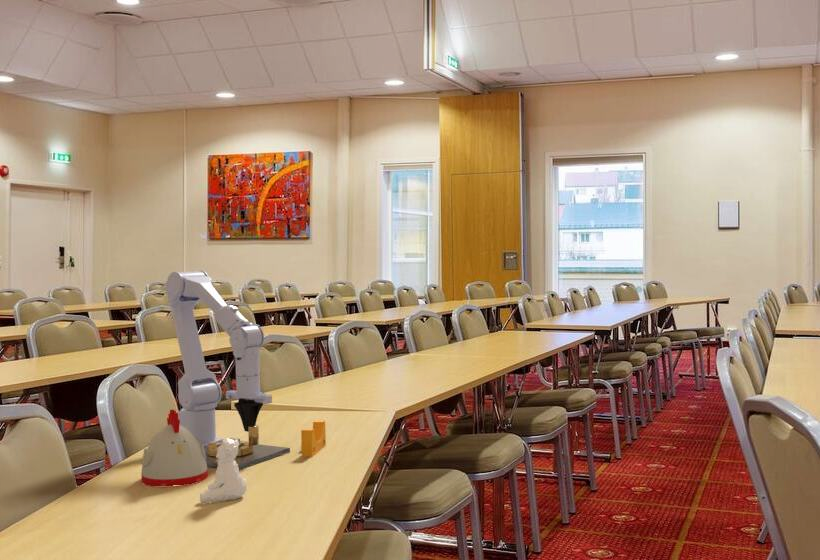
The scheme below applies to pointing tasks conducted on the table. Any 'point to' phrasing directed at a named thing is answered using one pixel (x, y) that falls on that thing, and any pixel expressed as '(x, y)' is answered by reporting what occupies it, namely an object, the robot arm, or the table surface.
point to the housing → (249, 455)
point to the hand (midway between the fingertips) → (249, 430)
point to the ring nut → (244, 445)
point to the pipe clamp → (313, 439)
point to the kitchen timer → (174, 457)
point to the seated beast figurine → (225, 475)
